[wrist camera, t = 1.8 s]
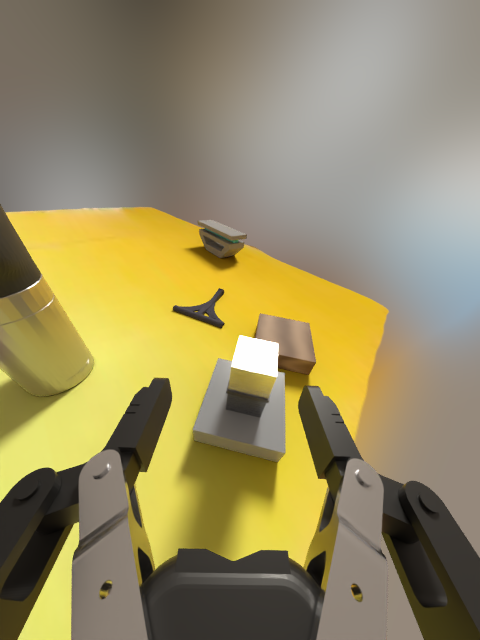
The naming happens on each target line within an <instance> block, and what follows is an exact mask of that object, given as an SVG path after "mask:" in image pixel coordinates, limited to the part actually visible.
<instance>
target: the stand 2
mask: <svg viewBox="0 0 480 640" xmlns="http://www.w3.org/2000/svg"><path fill="white" fill-rule="evenodd" d="M255 339H258V340H263V341H268V342H272V343H277V344H278V362H277V368H280V369H285V370H289V371H294V372H299V373H303V374H308V375H309V374H310V372H311V370H312V369H313V367H314V365H315V363H316V359H315V354H314V348H313V342H312V337H311V331H310V325H309V323H305V322H300V321H295V320H290V319H285V318H280V317H275V316H270V315H265V314H260V315H259V320H258V324H257V330H256V336H255Z"/></svg>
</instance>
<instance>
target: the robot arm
mask: <svg viewBox="0 0 480 640" xmlns="http://www.w3.org/2000/svg"><path fill="white" fill-rule="evenodd" d="M93 366H94V358H93V356H92V355H91V353H90V351H89V350H88V348H87V347H86V345H85V343H84V341H83V340H82V338H81V337H80V335H79V333H78V332H77V330H76V329H75V327H74V325H73V324H72V322H71V321H70V319H69V317H68V316H67V314H66V313H65V311H64V309H63V308H62V306H61V305H60V303H59V301H58V300H57V298H56V297H55V295H54V293H53V292H52V290H51V289H50V287H49V285H48V284H47V282H46V281H45V279H44V277H43V276H42V274H41V273H40V271H39V269H38V268H37V266H36V264H35V263H34V261H33V260H32V258H31V256H30V254H29V253H28V251H27V249H26V247H25V246H24V244H23V242H22V241H21V239H20V237H19V236H18V234H17V232H16V231H15V229H14V227H13V226H12V224H11V222H10V221H9V219H8V217H7V215H6V213H5V212H4V210H3V208H2V207H1V205H0V369H1V370H2V371H3V372H5V373H6V374H7V375H8V376H9V377H10V378H11V379H13V380H14V381H15V382H16V383H17V384H19V385H20V386H21V387H22V388H23V389H25V390H26V391H27V392H28V393H30V394H31V395H35V396H50V395H55V394H58V393H61V392H64V391H66V390H68V389H70V388H72V387H74V386H75V385H77V384H78V383H80V382H81V381H82V380H83V379H85V378H86V377H87V376H88V374H89V373H90V372H91V370H92V368H93ZM171 402H172V392H171V387H170V382H169V379H168V378H154V379H153V380H152V382H151V384H150V386H149V387H143V388H142V389H141V390H140V391H139V392H138V393H137V394H135V396H134V398H133V399H132V401H131V403H130V406H128V408H127V410H126V412H125V414H124V415H123V417H122V419H121V420H120V422H119V424H118V426H117V427H116V429H115V431H114V432H113V434H112V436H111V438H110V439H109V441H108V443H107V445H106V446H105V448H104V449H103V450H102V451H101V452H100V453H98V454H96V455H95V456H94V457H92V458H91V459H90V460H89V461H88V462H86V463H84V464H82V465H79V466H76V467H72V468H69V469H66V470H63V471H59V472H55V471H54V470H53V469H51V468H41V469H38V470H35V471H33V472H31V473H30V474H28V475H26V476H25V477H24V478H22V479H21V480H20V481H19V482H18V483H17V484H16V485H15V486H14V487H13V488H12V489H11V490H10V491H9V492H8V494H7V495H6V496H5V498H4V499H3V500H2V501H1V503H0V640H17V639H18V637H19V635H20V633H21V631H22V629H23V627H24V625H25V623H26V621H27V619H28V617H29V615H30V613H31V611H32V609H33V607H34V604H35V602H36V600H37V598H38V596H39V594H40V592H41V590H42V588H43V586H44V584H45V582H46V580H47V578H48V576H49V574H50V572H51V570H52V568H53V566H54V564H55V562H56V560H57V558H58V555H59V553H60V551H61V549H62V547H63V545H64V543H65V541H66V539H67V537H68V535H69V533H70V531H71V529H72V527H73V525H74V523H77V522H79V545H78V547H77V549H76V550H75V552H74V555H73V561H72V616H71V640H386V639H387V603H388V565H387V560H386V557H385V556H384V554H383V553H382V550H381V533H382V535H383V538H384V540H385V543H386V545H387V548H388V550H389V553H390V555H391V558H392V560H393V563H394V565H395V568H396V570H397V573H398V575H399V578H400V580H401V583H402V585H403V588H404V590H405V593H406V595H407V598H408V600H409V603H410V605H411V608H412V610H413V613H414V615H415V618H416V620H417V623H418V625H419V628H420V631H421V633H422V635H423V638H424V640H480V558H479V557H478V555H477V553H476V552H475V551H474V549H473V547H472V546H471V544H470V543H469V541H468V540H467V538H466V537H465V535H464V533H463V532H462V531H461V529H460V527H459V526H458V524H457V523H456V521H455V520H454V518H453V517H452V515H451V514H450V512H449V511H448V509H447V507H446V506H445V504H444V503H443V502H442V500H441V499H440V498H439V497H438V496H437V495H436V494H435V493H434V492H433V491H432V490H430V488H428V487H427V486H425V485H424V484H422V483H419V482H417V481H409V482H407V483H406V484H405V485H404V484H401V483H399V482H396V481H394V480H391V479H389V478H386V477H384V476H381V475H380V474H378V473H377V472H376V471H375V470H374V469H373V468H372V467H371V466H370V465H369V464H368V463H366V462H365V461H364V460H363V459H362V457H361V455H360V453H359V451H358V450H357V447H356V445H355V443H354V441H353V439H352V437H351V435H350V433H349V431H348V429H347V427H346V425H345V424H344V421H343V419H342V417H341V416H340V413H339V410H338V408H337V406H336V404H335V403H334V402H333V401H332V400H331V399H330V398H329V397H328V396H323V394H322V391H321V389H320V388H319V387H318V386H304V388H303V391H302V394H301V396H300V399H299V403H298V409H299V414H300V417H301V420H302V424H303V427H304V431H305V434H306V438H307V441H308V445H309V448H310V451H311V455H312V458H313V462H314V465H315V469H316V472H317V476H318V479H326V480H327V483H328V488H327V491H326V495H325V499H324V503H323V506H322V510H321V514H320V518H319V522H318V525H317V529H316V532H315V535H314V537H313V539H312V541H311V544H310V546H309V549H308V553H307V556H306V560H305V564H304V567H302V566H301V565H299V564H298V563H297V562H295V561H294V560H292V559H290V558H288V551H278V550H260V551H258V552H256V553H253V554H251V555H249V556H246V557H244V558H241V559H239V560H237V561H230V560H228V559H226V558H224V557H222V556H220V555H217V554H215V553H213V552H211V551H209V550H207V549H178V555H176V556H174V557H172V558H170V559H168V560H167V561H165V562H164V563H163V564H161V565H160V566H159V567H158V568H157V569H156V570H155V565H154V561H153V556H152V552H151V547H150V543H149V540H148V537H147V534H146V531H145V527H144V523H143V518H142V513H141V509H140V504H139V499H138V495H137V490H136V485H135V481H136V479H137V476H138V474H139V472H147V470H148V467H149V464H150V461H151V458H152V456H153V453H154V450H155V447H156V445H157V442H158V439H159V436H160V434H161V431H162V428H163V425H164V422H165V420H166V417H167V414H168V411H169V409H170V406H171Z"/></svg>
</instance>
